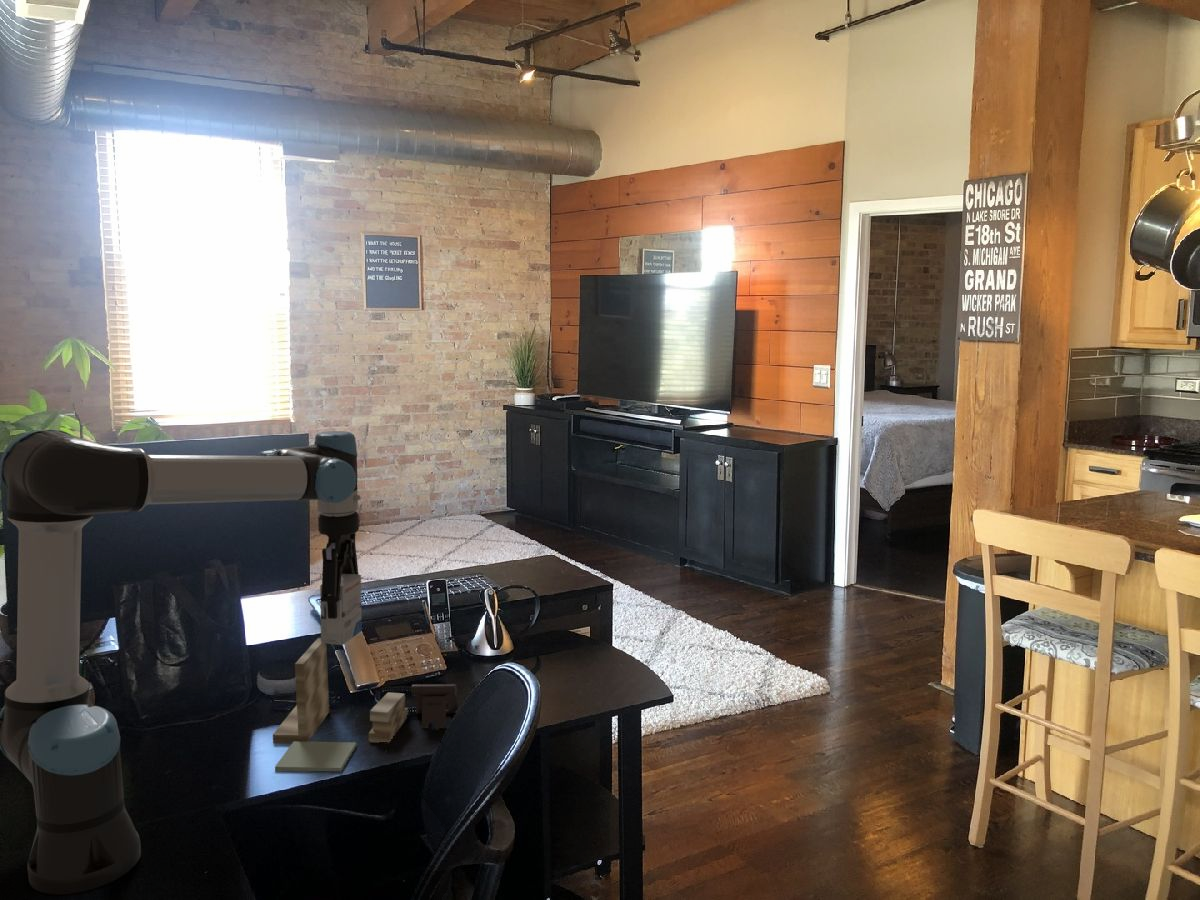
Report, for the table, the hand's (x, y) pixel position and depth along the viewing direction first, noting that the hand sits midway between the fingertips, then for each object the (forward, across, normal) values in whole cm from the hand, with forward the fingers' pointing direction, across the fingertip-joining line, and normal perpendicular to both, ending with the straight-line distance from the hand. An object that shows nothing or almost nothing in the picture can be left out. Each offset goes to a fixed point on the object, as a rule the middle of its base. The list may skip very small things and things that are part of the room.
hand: (342, 624), depth 191 cm
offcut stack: (+22, 0, -9) cm, 23 cm away
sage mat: (+21, -13, +2) cm, 25 cm away
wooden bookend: (+21, 0, +9) cm, 23 cm away
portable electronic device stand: (+22, +4, -17) cm, 28 cm away
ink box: (+3, 0, 0) cm, 3 cm away
